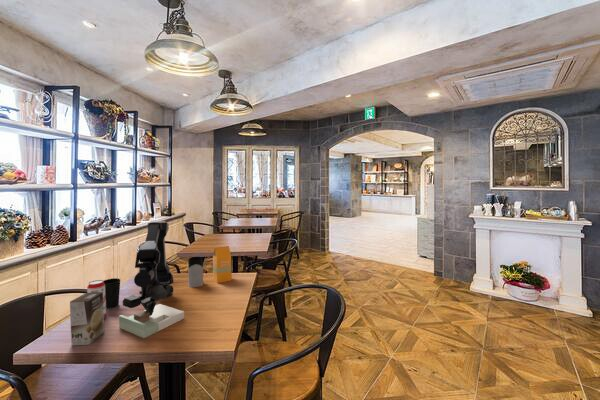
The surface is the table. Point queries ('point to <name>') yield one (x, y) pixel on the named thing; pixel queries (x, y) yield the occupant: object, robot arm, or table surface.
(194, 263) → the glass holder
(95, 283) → the beer can
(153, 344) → the table surface
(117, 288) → the cup
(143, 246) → the robot arm
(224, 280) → the orange juice
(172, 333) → the table surface
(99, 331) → the coffee box
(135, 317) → the block
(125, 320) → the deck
